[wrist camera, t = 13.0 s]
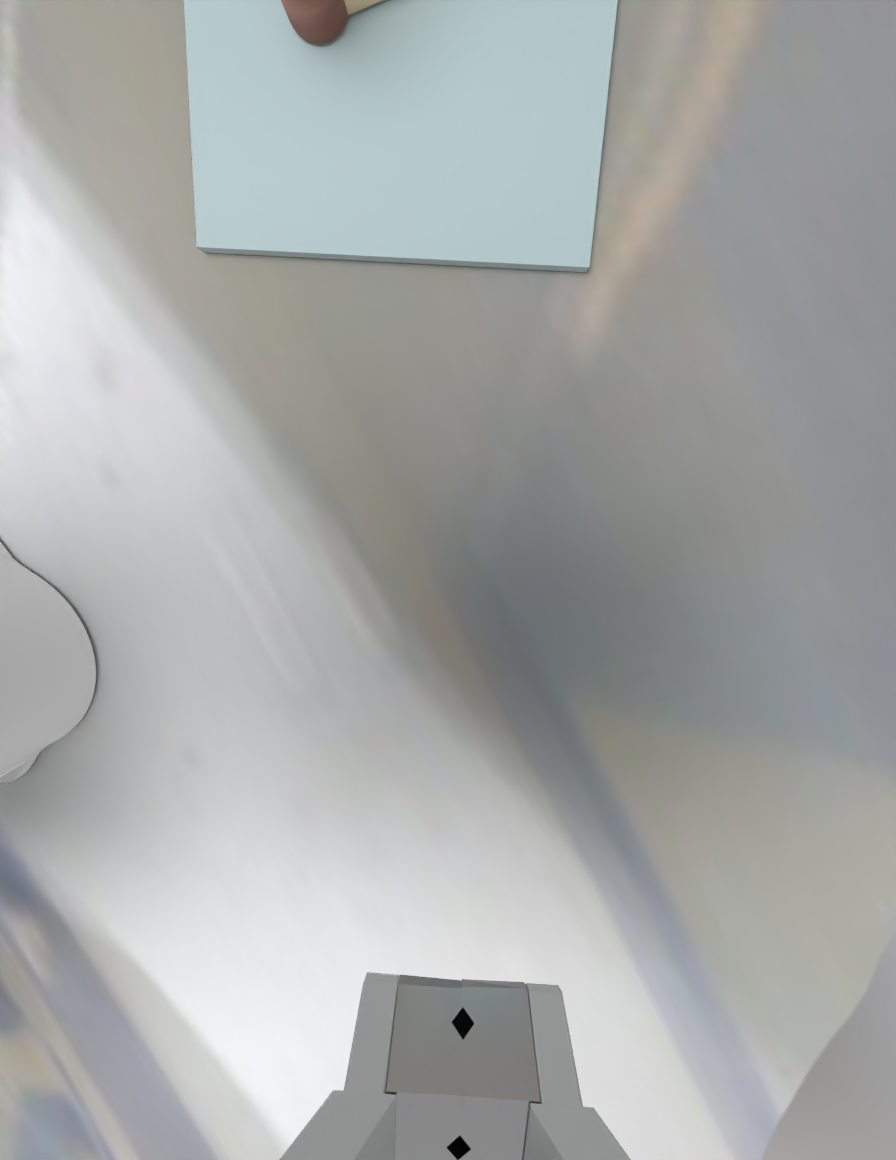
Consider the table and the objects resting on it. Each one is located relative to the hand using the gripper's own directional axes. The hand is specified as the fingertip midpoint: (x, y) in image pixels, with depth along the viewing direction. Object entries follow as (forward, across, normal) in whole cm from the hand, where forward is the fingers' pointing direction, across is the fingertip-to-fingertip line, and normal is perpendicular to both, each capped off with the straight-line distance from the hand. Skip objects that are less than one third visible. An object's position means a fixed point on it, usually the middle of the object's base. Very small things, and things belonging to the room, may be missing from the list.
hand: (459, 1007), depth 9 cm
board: (+29, +5, -29) cm, 41 cm away
